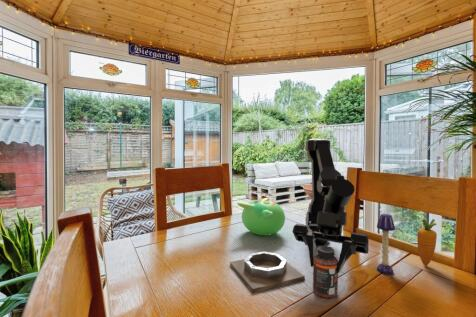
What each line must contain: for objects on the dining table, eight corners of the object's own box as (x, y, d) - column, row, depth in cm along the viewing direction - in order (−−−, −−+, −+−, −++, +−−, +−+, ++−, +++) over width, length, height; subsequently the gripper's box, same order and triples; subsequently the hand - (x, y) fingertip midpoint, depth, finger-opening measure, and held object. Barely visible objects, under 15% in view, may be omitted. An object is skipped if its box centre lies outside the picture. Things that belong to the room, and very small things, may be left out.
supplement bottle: (339, 300, 63) (340, 255, 62) (313, 297, 64) (314, 253, 64) (335, 287, 69) (336, 245, 68) (312, 284, 70) (312, 243, 69)
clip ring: (272, 257, 85) (272, 249, 84) (293, 273, 74) (293, 265, 74) (239, 263, 80) (239, 255, 80) (256, 282, 70) (256, 273, 69)
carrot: (432, 263, 82) (434, 216, 81) (438, 270, 77) (440, 221, 76) (413, 260, 84) (415, 214, 83) (418, 268, 79) (420, 219, 78)
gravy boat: (290, 231, 111) (291, 197, 109) (273, 245, 96) (274, 206, 95) (253, 224, 120) (253, 192, 119) (232, 236, 106) (232, 200, 105)
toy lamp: (371, 268, 79) (373, 213, 78) (382, 265, 81) (384, 212, 80) (386, 275, 75) (388, 218, 74) (397, 272, 77) (399, 216, 75)
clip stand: (274, 256, 88) (274, 253, 87) (304, 279, 73) (304, 276, 73) (230, 265, 81) (230, 261, 81) (252, 292, 67) (252, 288, 67)
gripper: (294, 195, 73) (280, 248, 64) (369, 202, 64) (365, 265, 55) (302, 215, 81) (290, 265, 72) (370, 225, 71) (366, 283, 63)
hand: (324, 269), depth 65 cm, fingers closed on supplement bottle, 6 cm apart
